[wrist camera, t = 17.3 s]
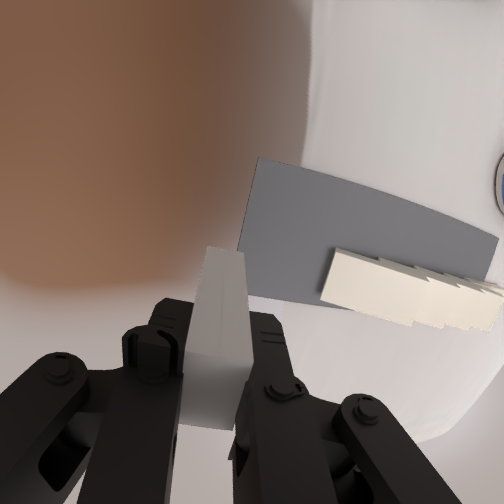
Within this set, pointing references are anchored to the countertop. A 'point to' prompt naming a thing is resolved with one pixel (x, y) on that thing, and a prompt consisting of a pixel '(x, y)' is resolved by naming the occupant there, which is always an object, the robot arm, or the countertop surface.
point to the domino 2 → (433, 298)
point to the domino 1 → (374, 287)
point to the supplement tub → (500, 185)
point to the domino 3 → (462, 302)
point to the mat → (343, 233)
